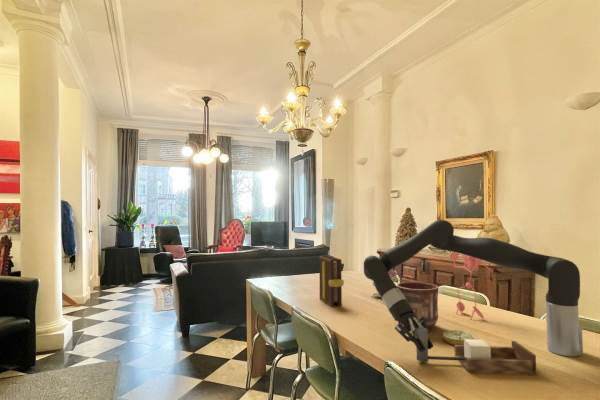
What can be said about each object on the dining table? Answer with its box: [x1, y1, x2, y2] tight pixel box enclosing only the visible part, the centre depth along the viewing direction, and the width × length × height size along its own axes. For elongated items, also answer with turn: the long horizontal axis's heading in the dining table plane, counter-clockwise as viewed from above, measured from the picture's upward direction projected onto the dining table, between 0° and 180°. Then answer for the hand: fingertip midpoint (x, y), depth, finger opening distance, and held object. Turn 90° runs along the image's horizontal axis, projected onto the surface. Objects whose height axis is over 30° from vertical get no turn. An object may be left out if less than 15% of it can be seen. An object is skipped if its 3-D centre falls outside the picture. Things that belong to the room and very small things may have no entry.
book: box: [318, 255, 345, 308], centre depth 193 cm, size 22×8×25 cm, turn 17°
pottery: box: [396, 281, 440, 331], centre depth 151 cm, size 18×18×18 cm
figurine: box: [449, 251, 493, 324], centre depth 167 cm, size 15×26×35 cm, turn 19°
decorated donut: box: [442, 329, 475, 346], centre depth 132 cm, size 10×11×4 cm
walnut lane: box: [454, 340, 537, 376], centre depth 112 cm, size 20×12×6 cm, turn 84°
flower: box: [362, 265, 401, 298], centre depth 208 cm, size 20×22×25 cm
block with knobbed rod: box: [415, 327, 491, 363], centre depth 113 cm, size 22×6×10 cm, turn 84°
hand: (427, 349), depth 113 cm, fingers closed on block with knobbed rod, 3 cm apart
